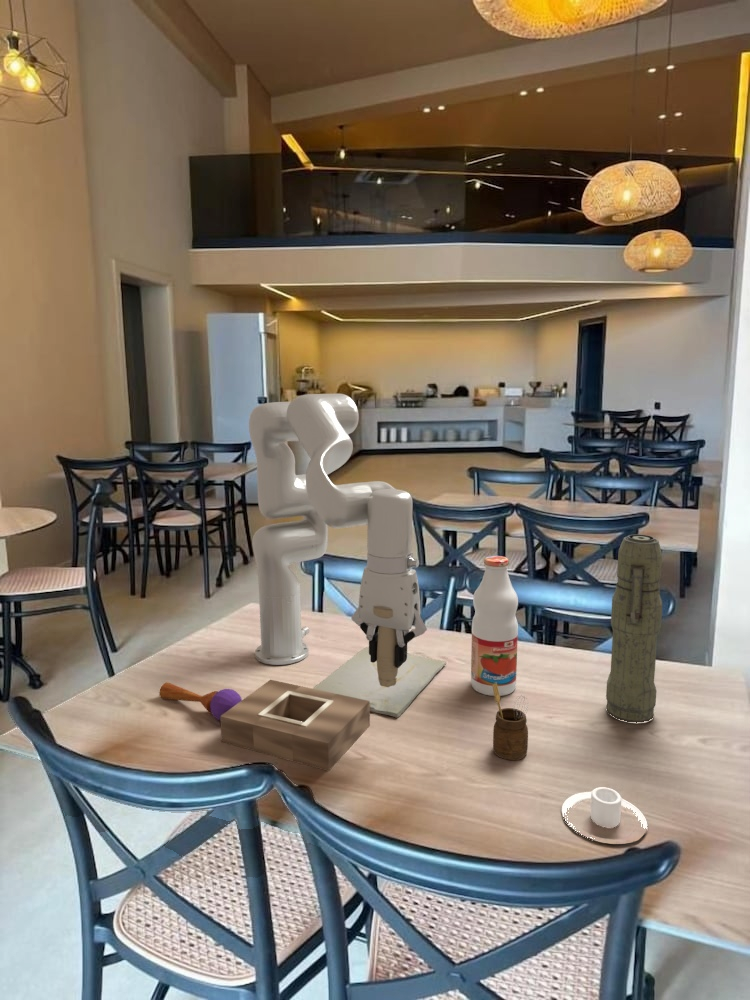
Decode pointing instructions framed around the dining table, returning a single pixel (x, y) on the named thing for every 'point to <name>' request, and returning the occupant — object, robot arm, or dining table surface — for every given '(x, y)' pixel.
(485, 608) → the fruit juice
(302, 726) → the brown flat block
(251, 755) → the dining table surface
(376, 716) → the dining table surface
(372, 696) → the decorative slab
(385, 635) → the handle
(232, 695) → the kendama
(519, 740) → the utensil holder
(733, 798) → the dining table surface
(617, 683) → the thermos
